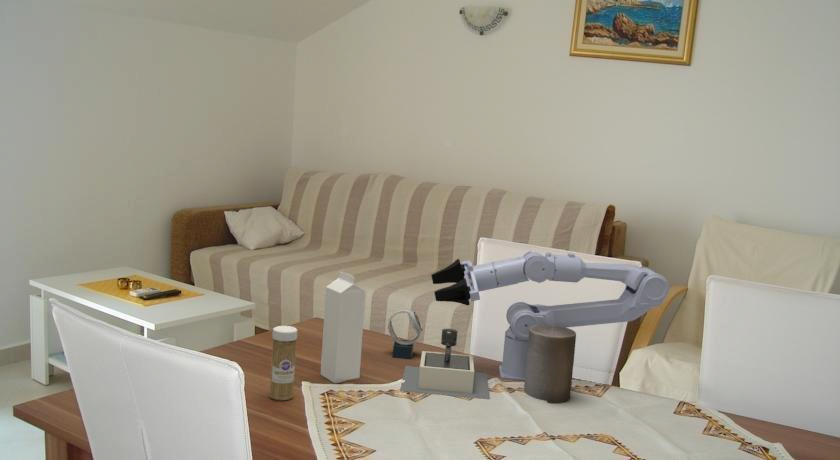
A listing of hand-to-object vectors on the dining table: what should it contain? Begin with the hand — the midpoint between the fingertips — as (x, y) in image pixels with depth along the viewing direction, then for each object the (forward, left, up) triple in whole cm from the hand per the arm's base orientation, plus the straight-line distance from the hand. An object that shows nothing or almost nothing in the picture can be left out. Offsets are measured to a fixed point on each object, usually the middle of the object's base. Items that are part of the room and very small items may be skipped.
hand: (433, 287), depth 161 cm
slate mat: (-4, +9, -18) cm, 21 cm away
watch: (+6, -7, -19) cm, 21 cm away
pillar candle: (-25, +10, -19) cm, 33 cm away
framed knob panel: (-4, +9, -18) cm, 20 cm away
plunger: (-4, +9, -15) cm, 18 cm away
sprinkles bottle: (+27, +25, -19) cm, 41 cm away
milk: (+18, +11, -19) cm, 28 cm away
